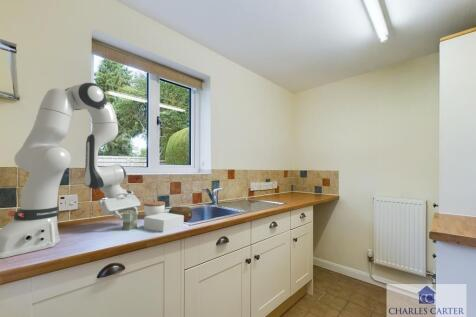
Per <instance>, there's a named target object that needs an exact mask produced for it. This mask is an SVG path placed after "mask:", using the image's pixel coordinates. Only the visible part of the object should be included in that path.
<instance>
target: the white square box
mask: <svg viewBox="0 0 476 317" xmlns="http://www.w3.org/2000/svg"><path fill="white" fill-rule="evenodd" d="M184 223H185V222H184V215H177V214H171V213H169V212H163V213H161V214H156V215H151V216H146V215H145V216H144V217H143V229H146V230H150V231H154V232H159V231H161V232H160V233H165V232H164V231H166V232H169V231H172V230H171V229H173V230H176V229H179V228H182V227H184ZM175 228H176V229H175ZM168 230H169V231H168Z"/></svg>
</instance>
